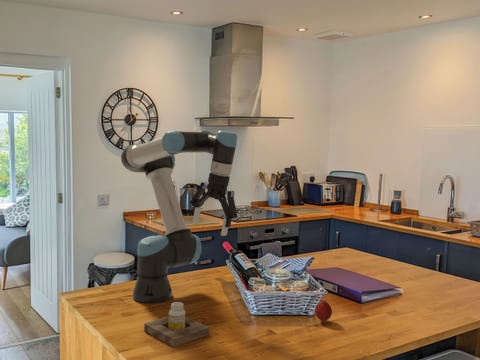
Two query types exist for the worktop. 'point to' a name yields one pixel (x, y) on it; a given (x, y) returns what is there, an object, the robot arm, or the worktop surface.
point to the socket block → (176, 337)
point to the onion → (323, 311)
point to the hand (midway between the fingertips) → (209, 229)
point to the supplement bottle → (176, 316)
